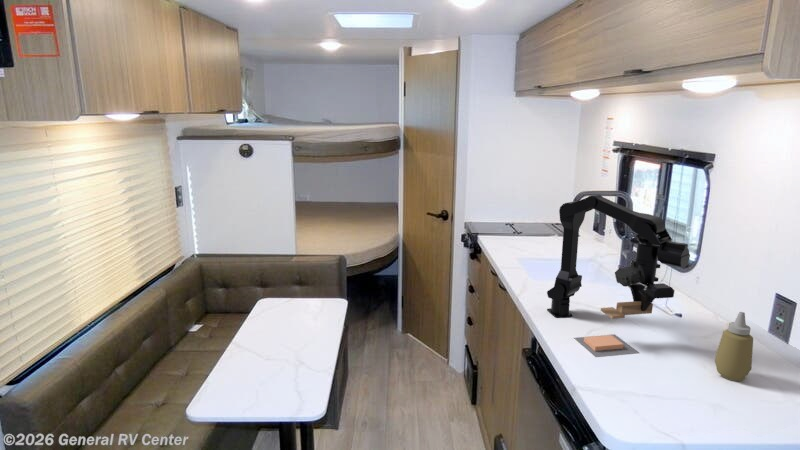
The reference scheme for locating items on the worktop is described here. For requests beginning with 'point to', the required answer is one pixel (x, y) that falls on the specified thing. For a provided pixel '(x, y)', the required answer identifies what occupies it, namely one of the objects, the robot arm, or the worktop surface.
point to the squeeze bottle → (735, 350)
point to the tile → (603, 343)
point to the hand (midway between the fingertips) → (639, 309)
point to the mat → (626, 350)
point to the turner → (626, 309)
